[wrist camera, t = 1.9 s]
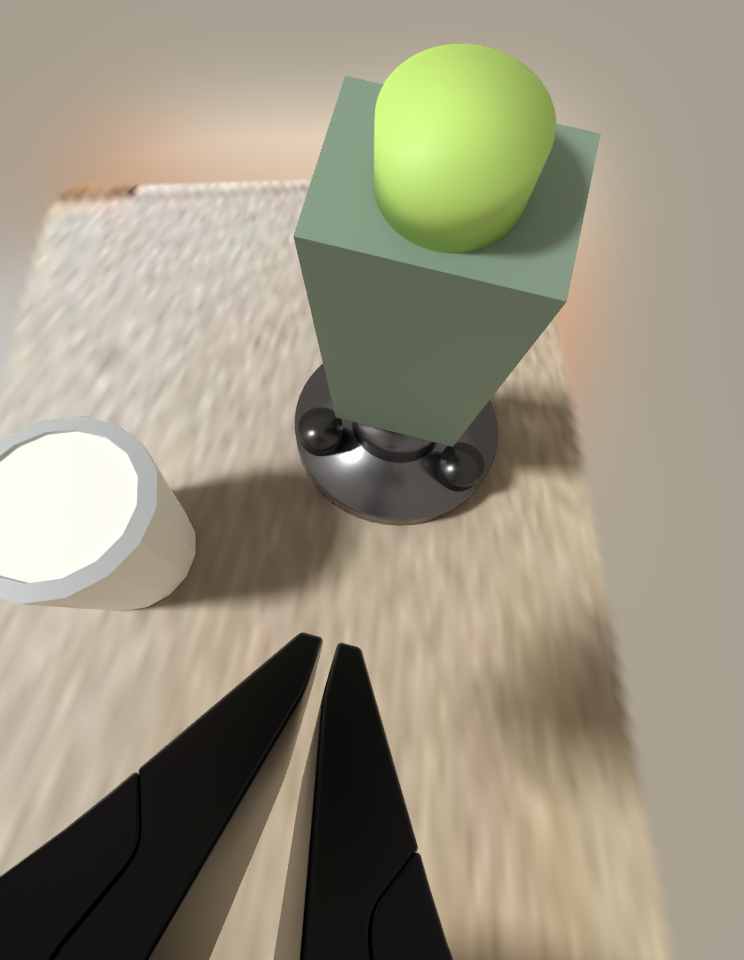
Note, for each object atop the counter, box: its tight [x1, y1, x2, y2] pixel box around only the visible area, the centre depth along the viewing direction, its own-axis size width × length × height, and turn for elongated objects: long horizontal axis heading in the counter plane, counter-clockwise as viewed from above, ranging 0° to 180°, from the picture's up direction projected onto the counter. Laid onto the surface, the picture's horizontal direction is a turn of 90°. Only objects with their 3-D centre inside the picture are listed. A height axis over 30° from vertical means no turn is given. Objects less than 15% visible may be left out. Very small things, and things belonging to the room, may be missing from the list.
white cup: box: [0, 416, 196, 611], centre depth 19 cm, size 7×7×7 cm
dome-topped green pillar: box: [294, 44, 600, 447], centre depth 15 cm, size 6×6×15 cm
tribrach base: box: [295, 364, 498, 525], centre depth 24 cm, size 11×11×3 cm
